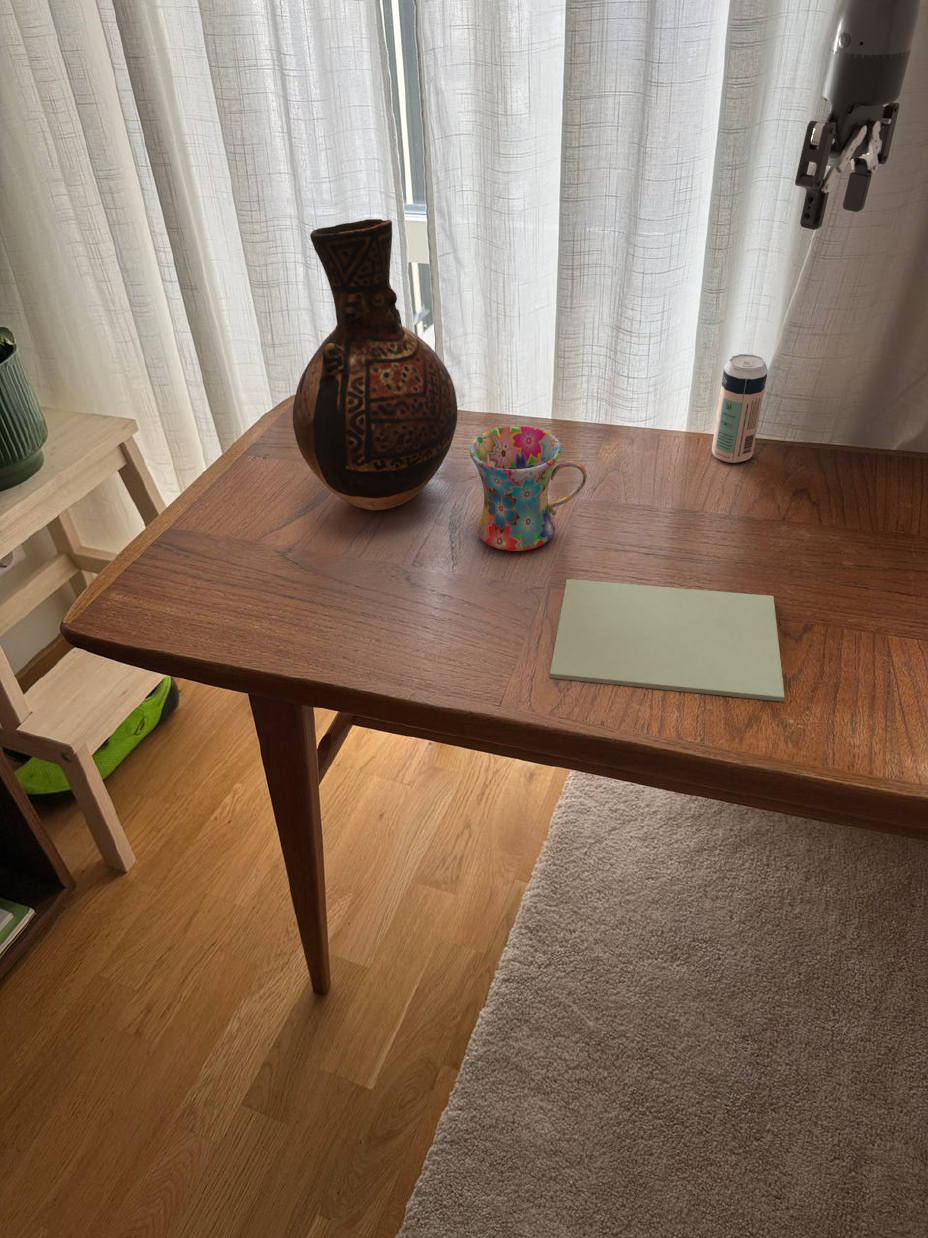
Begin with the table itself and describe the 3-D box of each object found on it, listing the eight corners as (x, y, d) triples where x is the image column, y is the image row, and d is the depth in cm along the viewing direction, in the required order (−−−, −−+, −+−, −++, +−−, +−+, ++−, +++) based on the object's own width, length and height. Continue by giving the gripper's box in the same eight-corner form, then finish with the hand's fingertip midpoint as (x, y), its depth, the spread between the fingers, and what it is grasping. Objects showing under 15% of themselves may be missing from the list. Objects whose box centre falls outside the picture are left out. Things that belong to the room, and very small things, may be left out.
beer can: (751, 447, 109) (768, 353, 101) (752, 466, 105) (770, 371, 97) (711, 444, 110) (725, 351, 102) (710, 463, 106) (725, 368, 98)
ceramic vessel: (412, 554, 94) (383, 267, 75) (274, 523, 100) (214, 249, 81) (487, 460, 109) (479, 199, 90) (363, 438, 115) (330, 189, 96)
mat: (772, 600, 86) (773, 595, 85) (783, 702, 75) (784, 697, 75) (566, 583, 89) (566, 578, 89) (549, 678, 79) (549, 673, 79)
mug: (465, 555, 94) (461, 467, 87) (482, 507, 101) (479, 423, 94) (579, 564, 92) (583, 475, 85) (587, 515, 99) (592, 429, 92)
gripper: (868, 58, 81) (827, 242, 91) (943, 37, 88) (897, 210, 98) (796, 50, 85) (764, 226, 96) (872, 31, 92) (835, 197, 103)
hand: (831, 218), depth 97 cm, fingers open, 8 cm apart
